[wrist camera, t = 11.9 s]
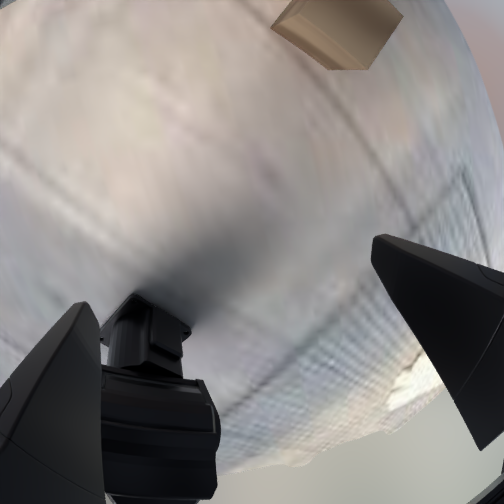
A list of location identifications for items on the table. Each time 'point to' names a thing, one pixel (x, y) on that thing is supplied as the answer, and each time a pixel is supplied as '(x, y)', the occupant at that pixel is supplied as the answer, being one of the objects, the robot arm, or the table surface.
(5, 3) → the cradle tray
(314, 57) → the walnut block
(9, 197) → the table surface
